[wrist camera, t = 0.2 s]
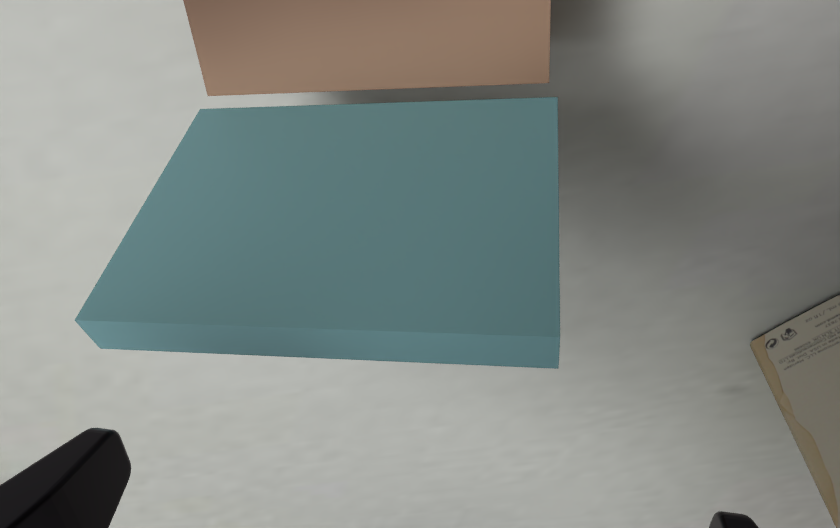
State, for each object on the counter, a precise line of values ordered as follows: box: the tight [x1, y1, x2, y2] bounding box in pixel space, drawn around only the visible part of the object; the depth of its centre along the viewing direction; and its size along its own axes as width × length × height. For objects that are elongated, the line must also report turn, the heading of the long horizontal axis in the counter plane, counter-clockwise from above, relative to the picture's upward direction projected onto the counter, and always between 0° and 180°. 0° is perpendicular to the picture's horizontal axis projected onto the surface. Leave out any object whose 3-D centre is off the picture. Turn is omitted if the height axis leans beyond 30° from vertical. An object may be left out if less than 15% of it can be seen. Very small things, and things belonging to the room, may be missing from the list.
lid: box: [75, 97, 560, 369], centre depth 14 cm, size 7×9×1 cm
